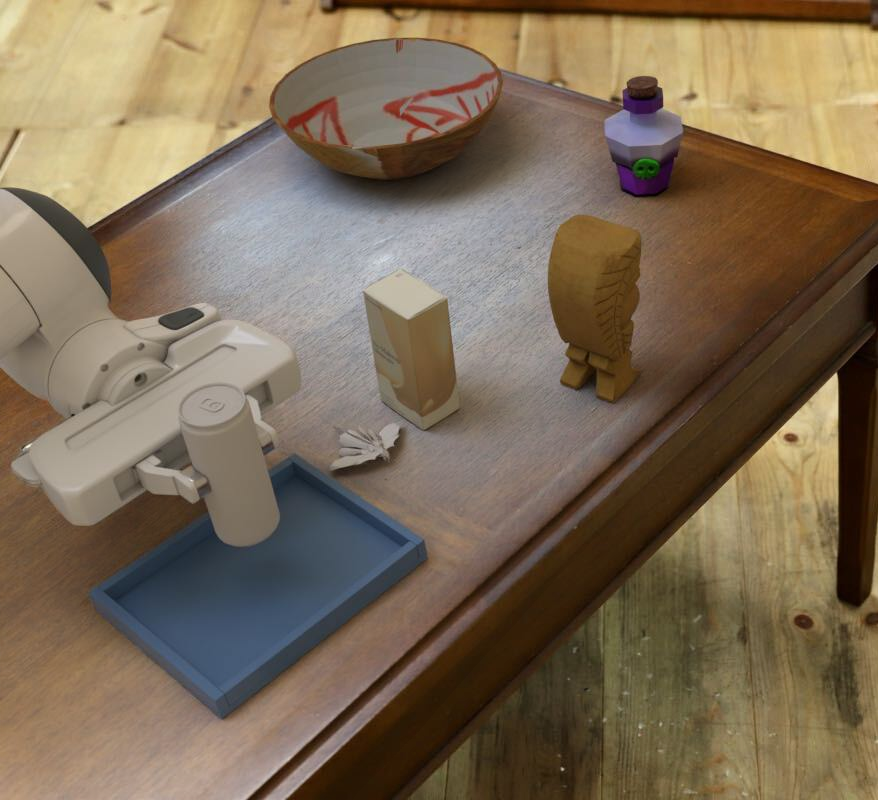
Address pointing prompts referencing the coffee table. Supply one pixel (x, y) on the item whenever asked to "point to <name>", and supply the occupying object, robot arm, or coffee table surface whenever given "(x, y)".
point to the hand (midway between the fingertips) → (236, 467)
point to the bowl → (387, 105)
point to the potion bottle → (643, 139)
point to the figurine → (595, 301)
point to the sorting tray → (258, 587)
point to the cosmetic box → (412, 348)
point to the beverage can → (229, 462)
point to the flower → (365, 445)
